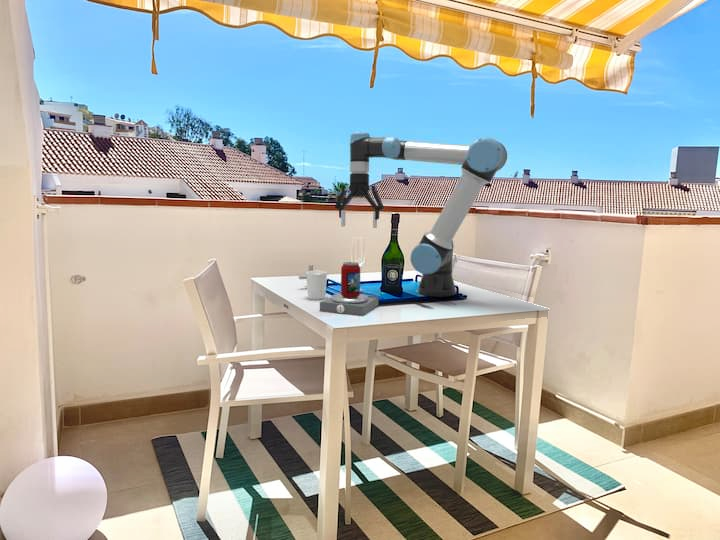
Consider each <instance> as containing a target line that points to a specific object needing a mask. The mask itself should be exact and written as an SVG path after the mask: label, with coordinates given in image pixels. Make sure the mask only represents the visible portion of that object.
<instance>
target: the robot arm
mask: <svg viewBox="0 0 720 540" xmlns="http://www.w3.org/2000/svg"><path fill="white" fill-rule="evenodd" d="M349 152H350V153H349V154H350V156H349V157H350V159H349V172H350V174H349V185H345V184H343V185H342V187H341V192H340V194H339V196H338V199H337V201H336V202H335V205H334V208H335V209H337V210H338V211H339V212H338V217H339V219H340V227H346V210H345V208H346V207H347V206H348V204H349V203H350V202H351V201H352V199H353V198H364V199H366V201H367V202H368V203H369V205H371V207H372V208H373V210H374V211H372V229H377V228H378V220H379V219H380V211H382V210H384V209H385V206H384V204H383V201H382V200H381V198H380V195H379V193H378V187H377V186H376V185H371V186H370V184H369V183H370V174H369V172H370V158H371V159H373V158H383V159H391V160H396V161H399V160H401V161H411V162H413V161H414V162H422V163H423V162H424V163H432V164H433V163H436V164H444V165H445V164H446V165H456V166H457V165H458V166H461V167H460V168H461V173H462V174H461V176H460V177H459V180H458V181H457V183H456V184H455V186H454V188H453V191H452V192H451V194H450V195H449V198H448V199H447V201H446V203H445V204H444V207H443V208H442V209H441V212H440V213H439V215H438V217H437V219H436V221H435V223H434V224H433V226H432V228H431V229H430V231H427V232H424V234H423V236H422V238H421V240H419V243H418V244H417V245H416V246H414V247H413V249H412V251H411V253H410V259H409V260H410V263H411V265H412V268H413V269H414V270H415V271H416V272H418V273H420V274H422V275H421V278H420V281H419V285H418V288H417V292H418V294H420V295H423V296H429V297H451V296H454V295H456V285H455V282H454V279H453V261H454V260H453V258H454V257H453V254H454V238H455V235H456V234H457V232H458V231H459V229H460V227H461V226H462V223H463V222H464V221H465V218H466V217H467V216H468V213H469V211H470V210H471V208H472V206H473V205H474V203H475V201H476V199H477V198H478V196H479V194H480V192H481V191H482V189H483V187H484V186H485V185H487V184H490V183H491V182H492V181H493V178H494V177H495V175H496V173H497V172H498V171H500V170H502V168H503V167H504V166H505V165H506V162H507V160H508V153H507V152H508V151H507V150H506V147H505V146H504V144H503V143H501V142H499V141H498V140H497V139H496V138H493V137H481V138H478V139H476V140H475V141H473V142H472V143H470V145H469V144H456V143H455V144H452V143H442V142H441V143H439V142H428V141H427V142H425V141H424V142H423V141H412V140H399V138H398V137H397V136H382V137H379V136H378V137H371V136H370V133H369V132H365V131H356V132H352V133H351V134H350V142H349ZM369 191H370V192H371V193H372V195H373V198H374V199H375V201H374V199H373V198H372V197H371V194H370V193H369ZM347 192H349V194H348V195H347V197H346V194H347ZM345 197H346V198H345ZM344 199H345V200H344Z"/></svg>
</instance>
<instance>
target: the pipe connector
mask: <svg viewBox="0 0 720 540" xmlns="http://www.w3.org/2000/svg"><path fill="white" fill-rule="evenodd" d="M309 271H314V264H308V272H309ZM298 279H299V280H307V276H306V273H305V274H299V275H298Z"/></svg>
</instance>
